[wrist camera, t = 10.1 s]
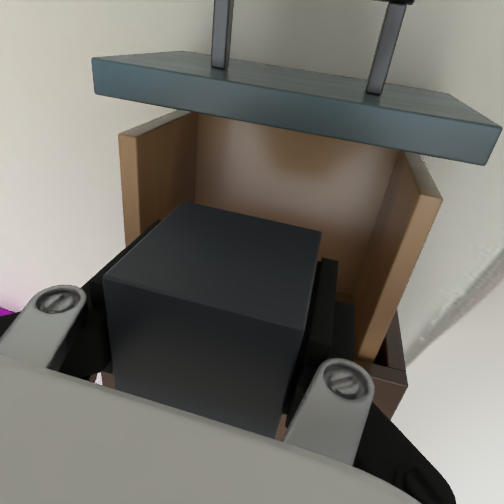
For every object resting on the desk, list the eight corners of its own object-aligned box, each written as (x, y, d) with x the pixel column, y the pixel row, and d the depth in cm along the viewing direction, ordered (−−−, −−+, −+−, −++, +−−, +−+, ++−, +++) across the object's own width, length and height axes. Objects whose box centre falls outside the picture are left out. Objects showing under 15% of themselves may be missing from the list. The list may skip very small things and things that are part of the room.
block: (182, 199, 12) (100, 275, 8) (323, 230, 11) (305, 329, 8) (179, 307, 14) (115, 406, 11) (295, 338, 14) (271, 455, 10)
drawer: (183, -58, 17) (73, -118, 10) (492, -23, 15) (596, -69, 8) (177, 252, 26) (116, 326, 19) (371, 300, 24) (376, 399, 17)
